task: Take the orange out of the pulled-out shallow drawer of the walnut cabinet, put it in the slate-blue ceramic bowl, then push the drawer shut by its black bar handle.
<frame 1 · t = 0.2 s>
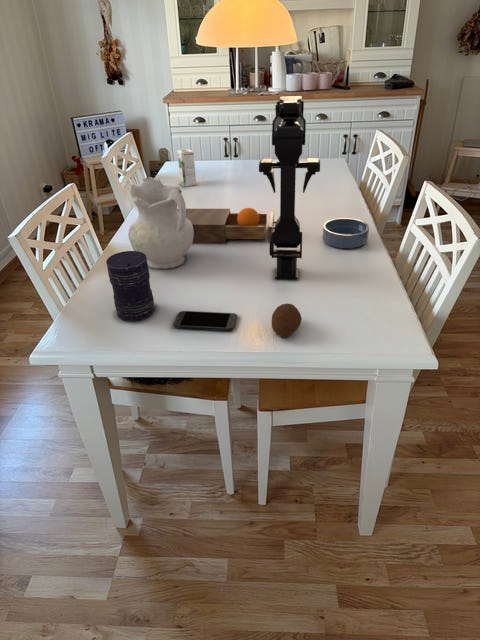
hand: (289, 192, 154), 15 cm above the table, tool pointing down, fingers open, 9 cm apart
smartphone: (205, 322, 119), on the table
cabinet: (201, 234, 165), on the table
storage jar: (136, 312, 125), on the table
ceramic pitcher: (168, 262, 149), on the table
syrup box: (188, 184, 213), on the table
orange: (248, 229, 162), point 2 cm above the table, touching drawer
potato: (286, 330, 115), on the table
drawer: (253, 225, 161), point 3 cm above the table, slide at 14.0 cm, touching orange
bowl: (344, 240, 156), on the table
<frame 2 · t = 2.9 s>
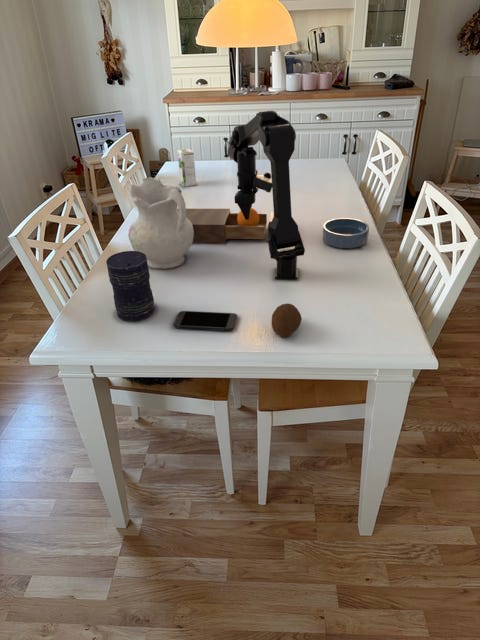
hand: (248, 215, 160), 7 cm above the table, tool pointing down, fingers closed on orange, 7 cm apart
orange: (248, 229, 162), point 2 cm above the table, touching drawer, gripper
everything else where it was.
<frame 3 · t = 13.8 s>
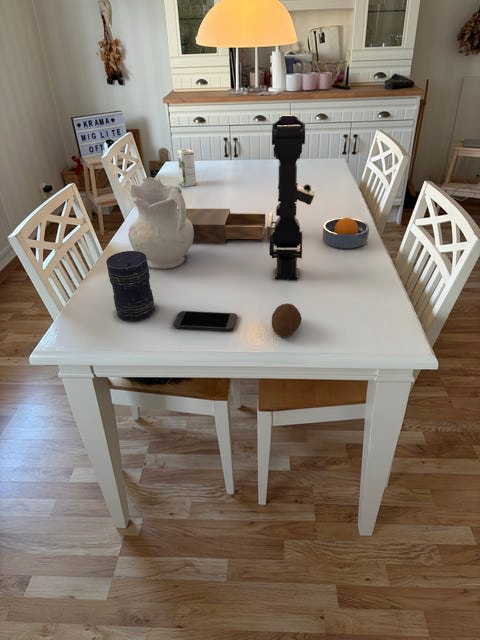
hand: (286, 226, 160), 3 cm above the table, tool pointing down, fingers closed, pressing on drawer
orange: (344, 237, 156), point 1 cm above the table, tilted 23°, touching bowl
drawer: (251, 225, 161), point 3 cm above the table, slide at 13.5 cm, touching gripper
everything else where it was.
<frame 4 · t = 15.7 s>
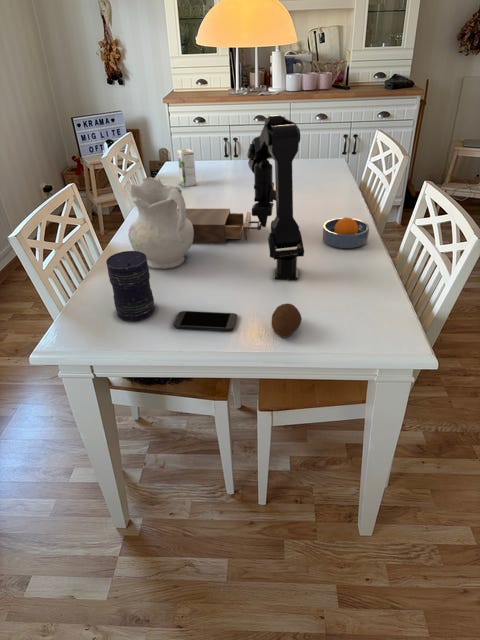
hand: (264, 226, 161), 3 cm above the table, tool pointing down, fingers closed, pressing on drawer
drawer: (229, 225, 162), point 3 cm above the table, slide at 6.0 cm, touching gripper
everything else where it was.
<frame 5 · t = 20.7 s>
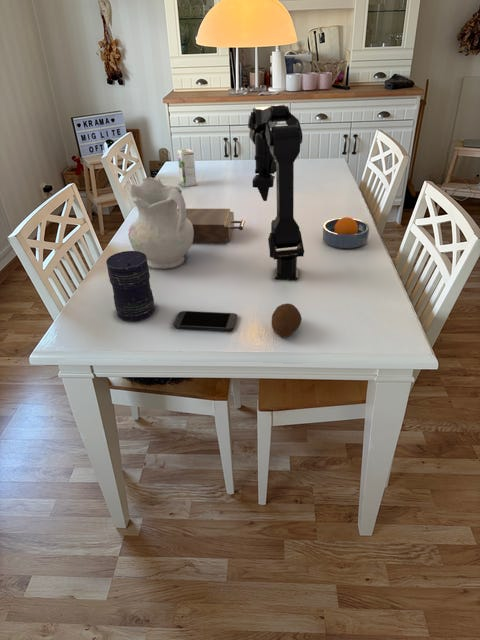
hand: (265, 200, 156), 12 cm above the table, tool pointing down, fingers closed
orange: (344, 238, 156), point 1 cm above the table, tilted 15°, touching bowl
drawer: (212, 225, 163), point 3 cm above the table, slide at 0.0 cm, touching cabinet
everything else where it was.
at the end: orange inside the target area in the bowl (0.1 cm from its centre), point 0.9 cm above the bowl's base; drawer slide at 0.0 cm; the gripper is holding nothing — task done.
